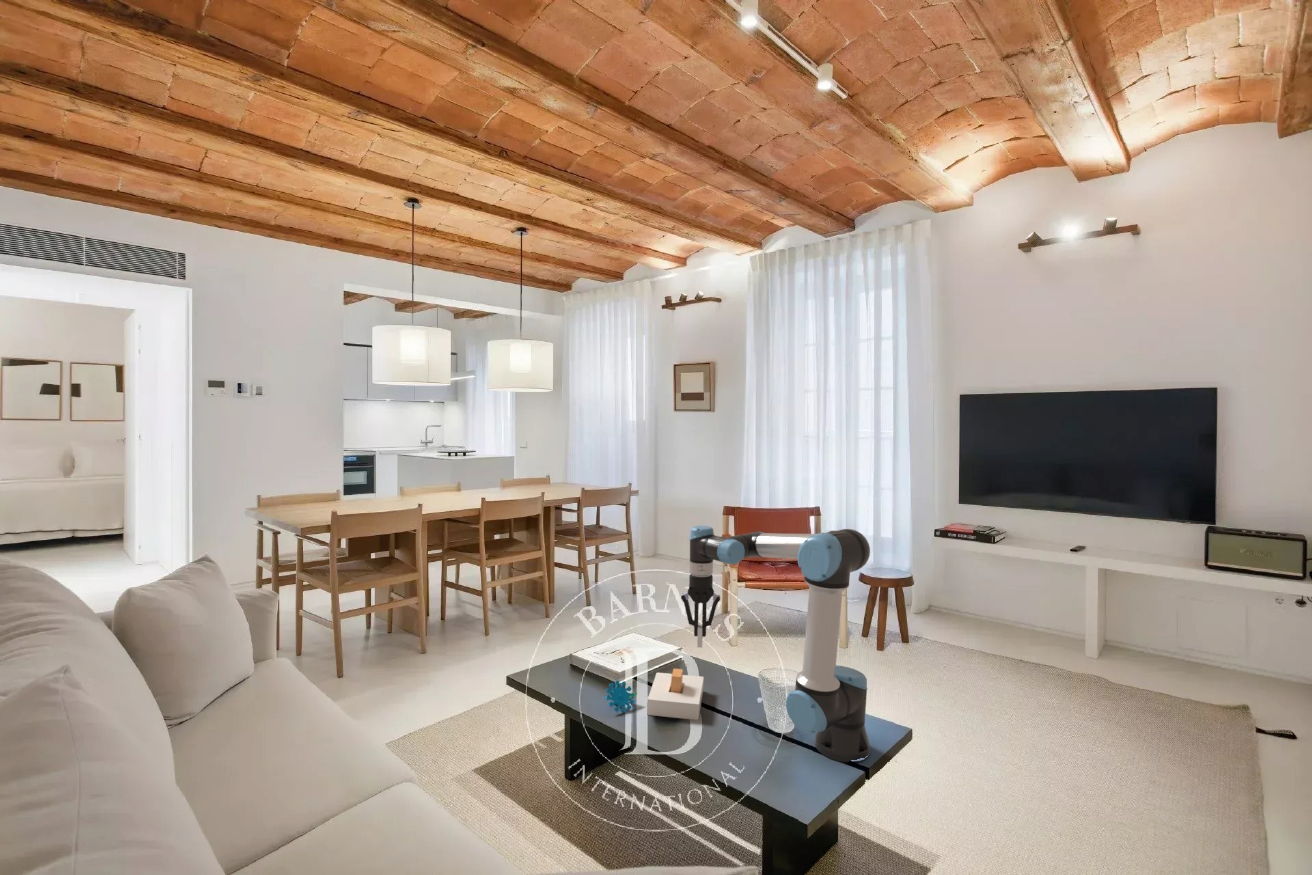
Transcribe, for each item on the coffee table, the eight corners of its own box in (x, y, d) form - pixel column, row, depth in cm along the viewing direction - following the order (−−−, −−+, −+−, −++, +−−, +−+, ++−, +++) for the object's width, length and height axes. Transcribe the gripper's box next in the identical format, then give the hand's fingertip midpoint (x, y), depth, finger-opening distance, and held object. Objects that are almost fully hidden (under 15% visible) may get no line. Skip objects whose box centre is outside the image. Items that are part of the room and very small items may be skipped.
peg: (681, 698, 219) (682, 669, 218) (679, 707, 213) (680, 676, 212) (672, 697, 219) (673, 668, 219) (670, 706, 213) (671, 676, 213)
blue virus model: (610, 712, 205) (604, 680, 211) (602, 719, 209) (596, 688, 215) (641, 709, 211) (634, 678, 217) (633, 716, 214) (626, 686, 220)
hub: (698, 719, 205) (698, 704, 205) (647, 714, 207) (647, 699, 207) (703, 691, 225) (703, 676, 225) (656, 686, 227) (656, 672, 227)
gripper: (680, 576, 212) (678, 648, 213) (721, 578, 211) (719, 651, 212) (681, 570, 220) (680, 640, 221) (721, 572, 218) (720, 642, 219)
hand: (699, 645), depth 216 cm, fingers closed
